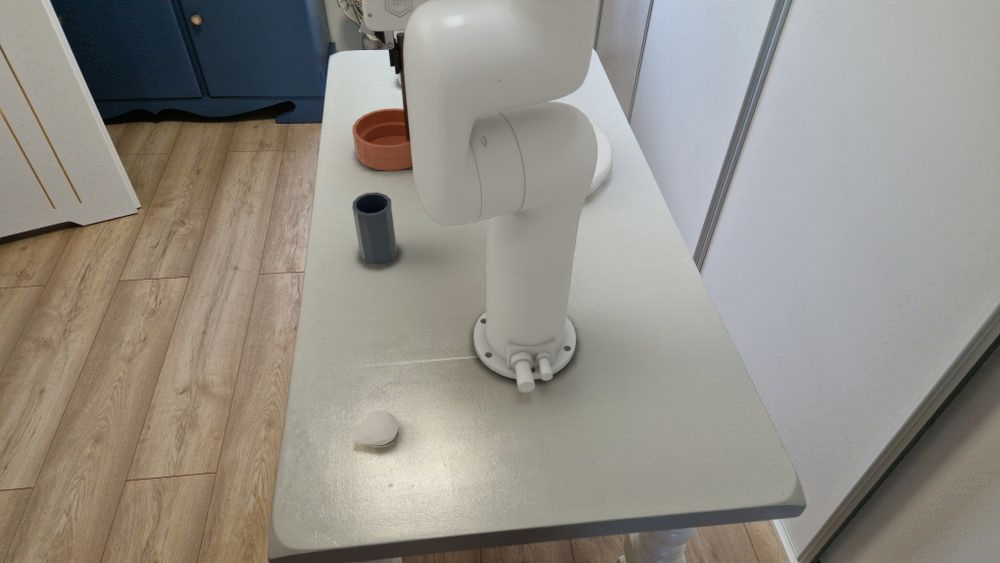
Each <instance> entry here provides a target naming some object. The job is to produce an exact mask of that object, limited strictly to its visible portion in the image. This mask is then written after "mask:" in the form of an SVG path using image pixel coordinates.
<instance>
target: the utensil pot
mask: <svg viewBox="0 0 1000 563" xmlns="http://www.w3.org/2000/svg"><path fill="white" fill-rule="evenodd" d="M351 208H352V213H353V220H354V225H355V231H356V236H357V242H358V243H357V244H358V248H359V253H360V257H361V259H362V260H363V261H364V262H365V263H367V264H370V265H375V266H376V265H385V264H387V263H390V262H391V261H393V260H394V259H395V257H396V256H397V254H398V246H397V239H396V229H395V221H394V213H393V204H392V199H391V198H390V197H389V196H388V195H387V194H385V193H381V192H377V191H374V192H366V193H363V194H360V195H358V196H357V197H356V198H355V199H354V200H353V201H352V206H351Z"/></svg>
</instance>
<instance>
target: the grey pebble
mask: <svg viewBox="0 0 1000 563" xmlns="http://www.w3.org/2000/svg"><path fill="white" fill-rule="evenodd" d="M399 430H400V429H399V424H398V421H397V418H396V417H395V416H394V415H393V414H392V413H391V412H389V411H387V410H384V409H377V410H374V411H372V412H370V413H369V414H368V415H366V416H365V418H363V420H362V421H361V423H360V424H359V425H358V427H357V429H356V431H355V433H354V436H353V438H352V442H353V443H355V444H358V445H361V446H365V447H370V448H385V447H386V448H387V447H389V446H390V445H392V444H394V443H395V442H396V440H397V439H398V437H399Z"/></svg>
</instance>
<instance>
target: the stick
mask: <svg viewBox="0 0 1000 563" xmlns="http://www.w3.org/2000/svg"><path fill="white" fill-rule="evenodd" d="M404 35H405V33H404V32H400V33H397V34H396V37H397V46H398V54H399V64H400V79H401V85H400V88H401V89H400V90H401V98H402V109H403V110H404V121H405V131H406V140H407V141H408V142H409V141H410V132H409V121H408V109H407V98H406V87H405V76H404V58H403V44H404Z"/></svg>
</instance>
